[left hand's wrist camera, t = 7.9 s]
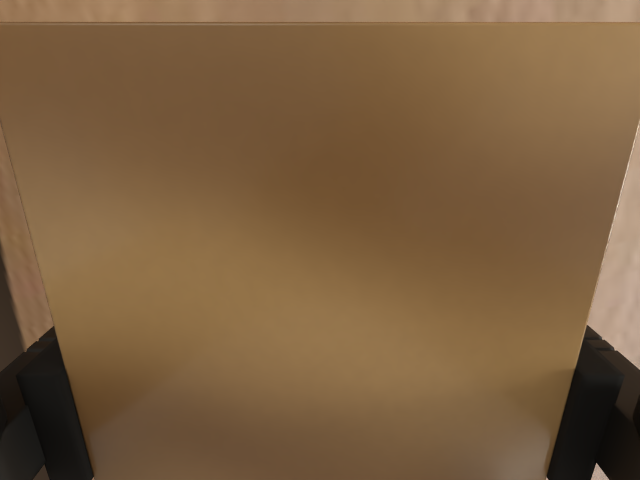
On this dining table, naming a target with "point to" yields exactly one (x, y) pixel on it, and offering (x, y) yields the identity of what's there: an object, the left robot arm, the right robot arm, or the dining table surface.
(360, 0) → the dining table surface
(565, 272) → the wide beam
